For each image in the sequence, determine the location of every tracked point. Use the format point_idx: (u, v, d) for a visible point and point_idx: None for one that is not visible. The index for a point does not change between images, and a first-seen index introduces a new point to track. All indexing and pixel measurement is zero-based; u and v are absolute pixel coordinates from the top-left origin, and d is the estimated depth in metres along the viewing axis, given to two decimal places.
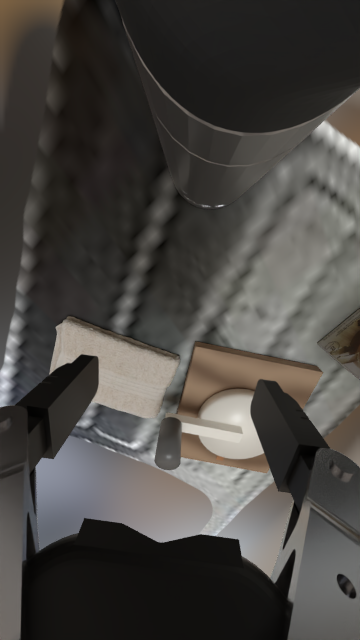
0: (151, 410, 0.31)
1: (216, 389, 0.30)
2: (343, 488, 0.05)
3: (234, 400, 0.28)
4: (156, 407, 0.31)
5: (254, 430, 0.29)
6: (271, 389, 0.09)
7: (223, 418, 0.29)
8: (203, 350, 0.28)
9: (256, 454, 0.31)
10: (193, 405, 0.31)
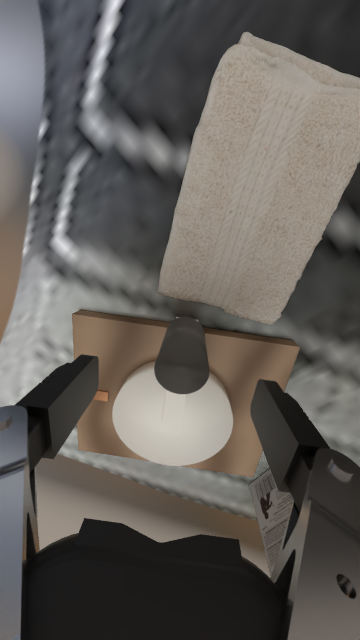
0: (178, 286, 0.17)
1: (224, 378, 0.21)
2: (343, 488, 0.05)
3: (229, 411, 0.19)
4: (184, 294, 0.18)
5: (176, 438, 0.21)
6: (271, 389, 0.09)
7: (194, 402, 0.19)
8: (292, 357, 0.20)
9: (130, 445, 0.21)
10: None
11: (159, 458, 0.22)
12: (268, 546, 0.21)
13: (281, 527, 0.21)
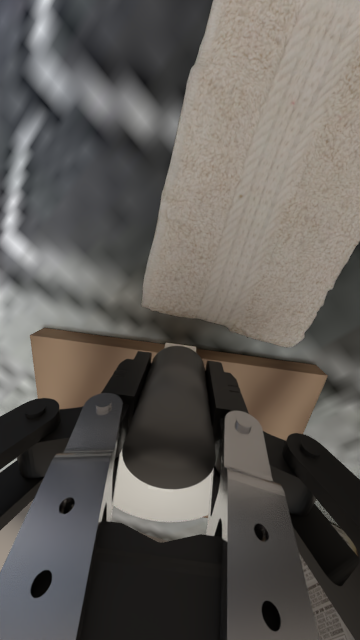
0: (169, 298, 0.13)
1: None
2: (236, 437, 0.06)
3: None
4: (176, 309, 0.13)
5: (168, 492, 0.16)
6: (212, 368, 0.10)
7: None
8: (317, 388, 0.15)
9: None
10: None
11: (148, 514, 0.17)
12: None
13: None
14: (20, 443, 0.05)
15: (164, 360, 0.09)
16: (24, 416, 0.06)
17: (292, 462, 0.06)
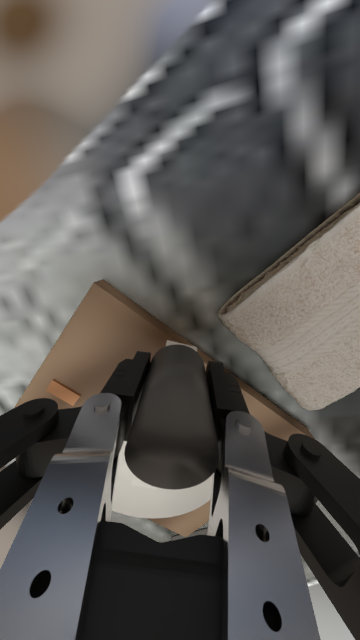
0: (252, 326, 0.13)
1: None
2: (238, 438, 0.06)
3: None
4: (251, 337, 0.14)
5: (150, 488, 0.16)
6: (213, 368, 0.10)
7: None
8: None
9: None
10: None
11: (126, 509, 0.17)
12: None
13: None
14: (19, 442, 0.05)
15: (168, 358, 0.09)
16: (22, 416, 0.06)
17: (293, 462, 0.06)
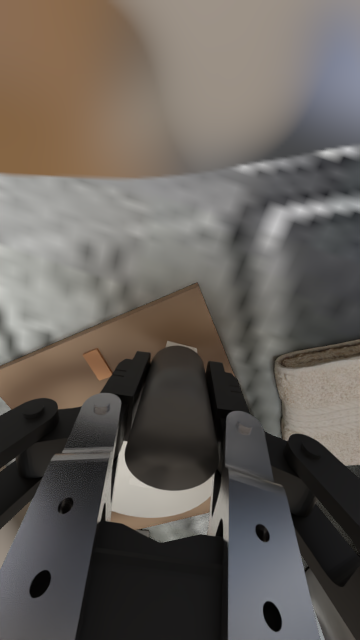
0: (302, 388, 0.15)
1: None
2: (238, 437, 0.06)
3: None
4: (294, 395, 0.15)
5: (147, 488, 0.16)
6: (213, 368, 0.10)
7: None
8: None
9: None
10: None
11: (123, 508, 0.17)
12: None
13: None
14: (19, 442, 0.05)
15: (168, 359, 0.09)
16: (22, 416, 0.06)
17: (294, 462, 0.06)
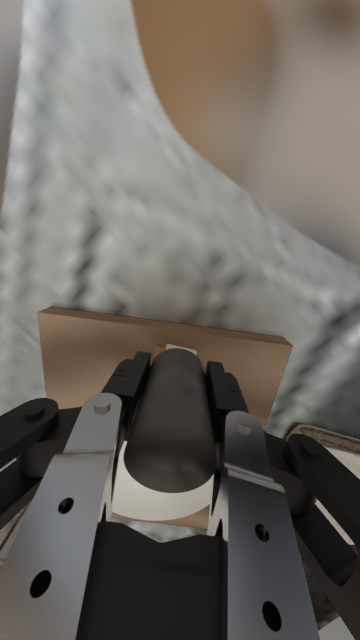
0: None
1: None
2: (237, 437, 0.06)
3: None
4: None
5: (152, 491, 0.16)
6: (213, 368, 0.10)
7: None
8: None
9: None
10: None
11: (128, 511, 0.17)
12: None
13: None
14: (20, 443, 0.05)
15: (167, 362, 0.09)
16: (23, 416, 0.06)
17: (293, 462, 0.06)
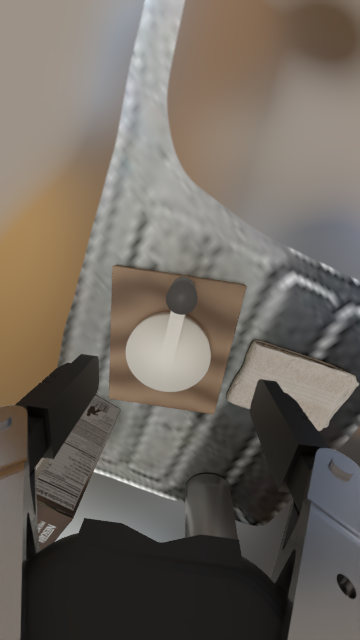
0: (259, 357, 0.30)
1: None
2: (343, 488, 0.05)
3: (208, 350, 0.28)
4: (253, 359, 0.30)
5: (169, 370, 0.29)
6: (271, 389, 0.09)
7: (185, 341, 0.28)
8: (207, 411, 0.34)
9: (135, 374, 0.30)
10: (214, 360, 0.31)
11: (156, 385, 0.30)
12: None
13: (92, 427, 0.31)
14: None
15: (179, 278, 0.22)
16: None
17: None
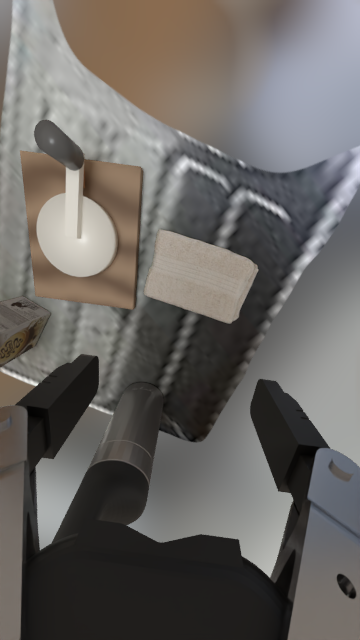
0: (163, 241, 0.32)
1: (108, 270, 0.35)
2: (343, 488, 0.05)
3: (110, 228, 0.31)
4: (158, 245, 0.33)
5: (79, 252, 0.32)
6: (271, 389, 0.09)
7: (87, 220, 0.30)
8: (126, 306, 0.37)
9: (49, 258, 0.32)
10: (124, 249, 0.34)
11: (69, 270, 0.33)
12: None
13: (13, 312, 0.34)
14: None
15: None
16: None
17: None
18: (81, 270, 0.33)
